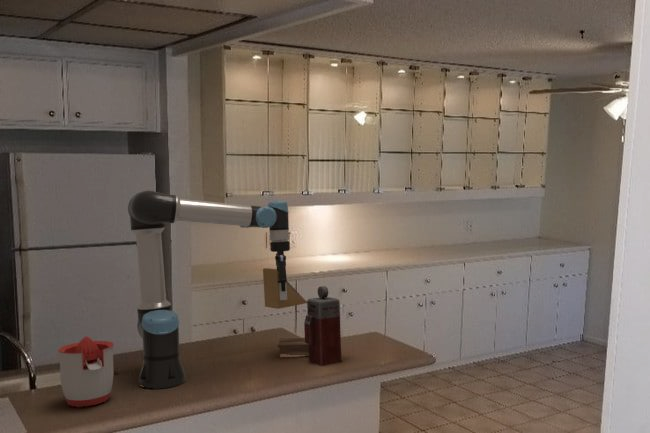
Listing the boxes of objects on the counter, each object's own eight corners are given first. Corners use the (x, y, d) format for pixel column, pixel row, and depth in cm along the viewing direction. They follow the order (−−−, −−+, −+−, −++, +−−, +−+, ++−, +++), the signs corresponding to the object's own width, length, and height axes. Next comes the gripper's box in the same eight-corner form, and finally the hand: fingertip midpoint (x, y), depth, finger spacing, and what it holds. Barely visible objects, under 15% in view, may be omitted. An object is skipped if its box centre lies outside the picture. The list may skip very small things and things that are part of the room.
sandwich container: (308, 302, 233) (307, 264, 233) (278, 308, 223) (276, 269, 223) (294, 300, 240) (293, 264, 239) (264, 306, 229) (262, 268, 229)
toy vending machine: (303, 362, 220) (300, 286, 220) (328, 357, 226) (326, 284, 226) (315, 367, 212) (313, 289, 212) (341, 362, 218) (339, 286, 218)
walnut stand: (327, 356, 227) (327, 343, 227) (278, 358, 227) (277, 345, 227) (327, 349, 239) (327, 337, 239) (280, 350, 239) (280, 338, 239)
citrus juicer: (68, 415, 168) (66, 345, 168) (55, 401, 182) (52, 336, 182) (124, 403, 178) (121, 337, 177) (107, 390, 192) (105, 329, 191)
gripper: (292, 242, 218) (295, 301, 218) (286, 239, 241) (289, 292, 242) (271, 243, 217) (274, 302, 217) (268, 240, 240) (271, 294, 240)
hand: (282, 297), depth 229 cm, fingers closed on sandwich container, 11 cm apart
